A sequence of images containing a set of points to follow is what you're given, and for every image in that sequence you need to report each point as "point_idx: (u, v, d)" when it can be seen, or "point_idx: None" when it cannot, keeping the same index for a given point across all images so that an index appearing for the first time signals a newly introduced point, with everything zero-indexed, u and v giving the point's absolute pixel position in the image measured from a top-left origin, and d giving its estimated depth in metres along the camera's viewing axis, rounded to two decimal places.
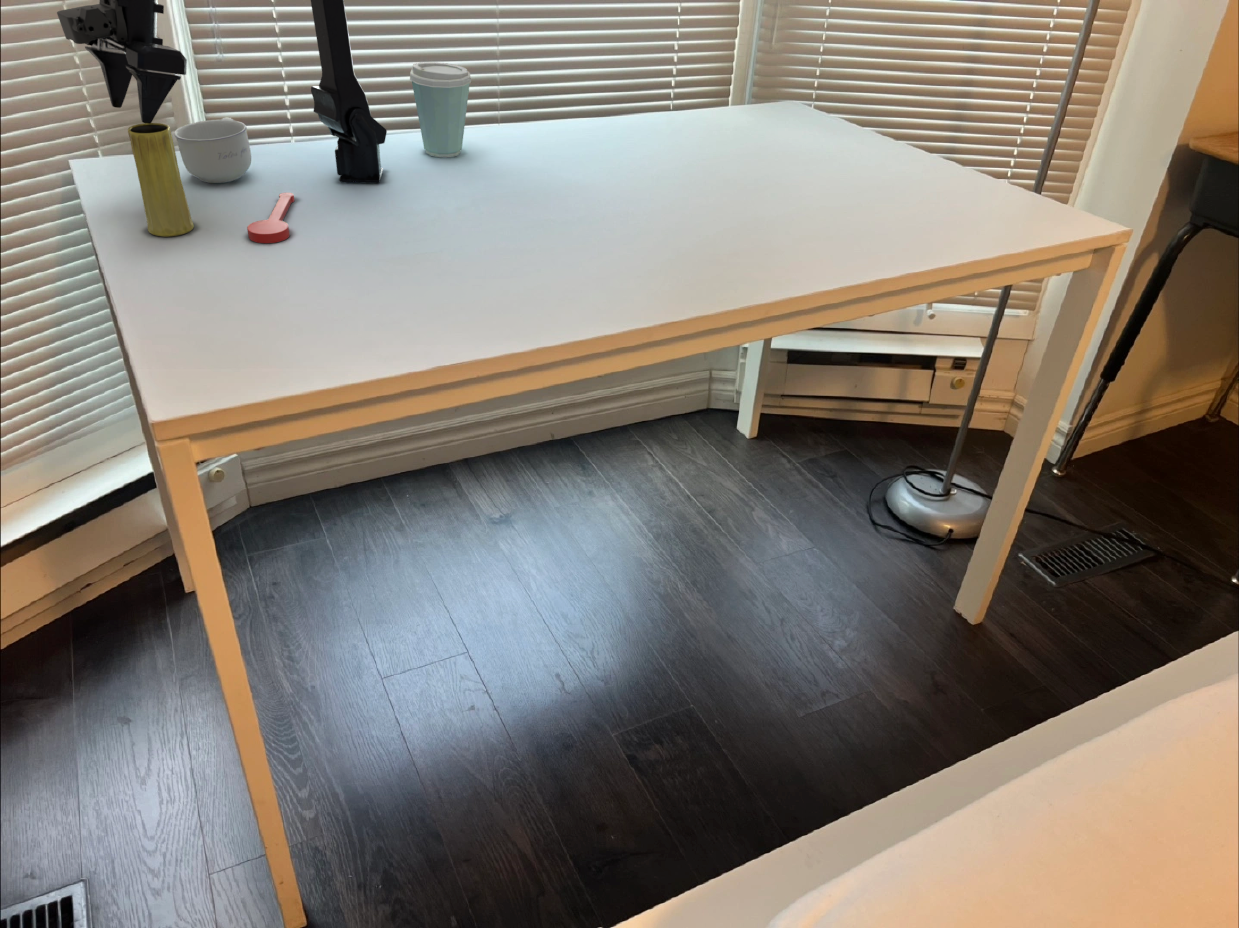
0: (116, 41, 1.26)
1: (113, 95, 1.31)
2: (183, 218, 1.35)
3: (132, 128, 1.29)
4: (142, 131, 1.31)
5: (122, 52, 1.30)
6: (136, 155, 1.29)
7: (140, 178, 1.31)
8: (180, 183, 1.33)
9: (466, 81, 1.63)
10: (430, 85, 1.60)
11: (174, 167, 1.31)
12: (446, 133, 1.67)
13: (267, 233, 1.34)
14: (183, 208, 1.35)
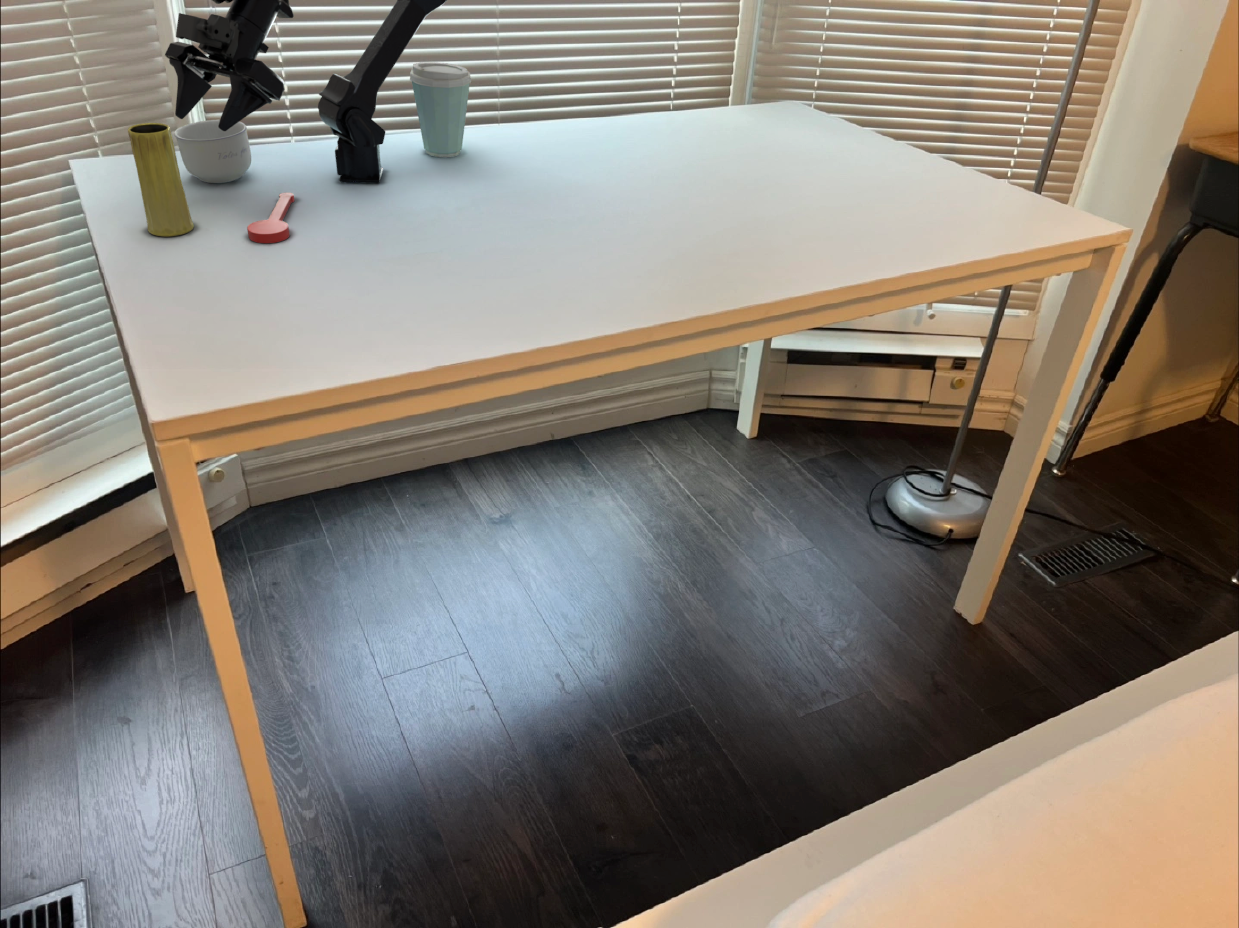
0: None
1: (181, 106, 1.37)
2: (183, 218, 1.35)
3: (132, 128, 1.29)
4: (142, 131, 1.31)
5: (201, 76, 1.39)
6: (136, 155, 1.29)
7: (140, 178, 1.31)
8: (180, 183, 1.33)
9: (466, 81, 1.63)
10: (430, 85, 1.60)
11: (174, 167, 1.31)
12: (446, 133, 1.67)
13: (267, 233, 1.34)
14: (183, 208, 1.35)
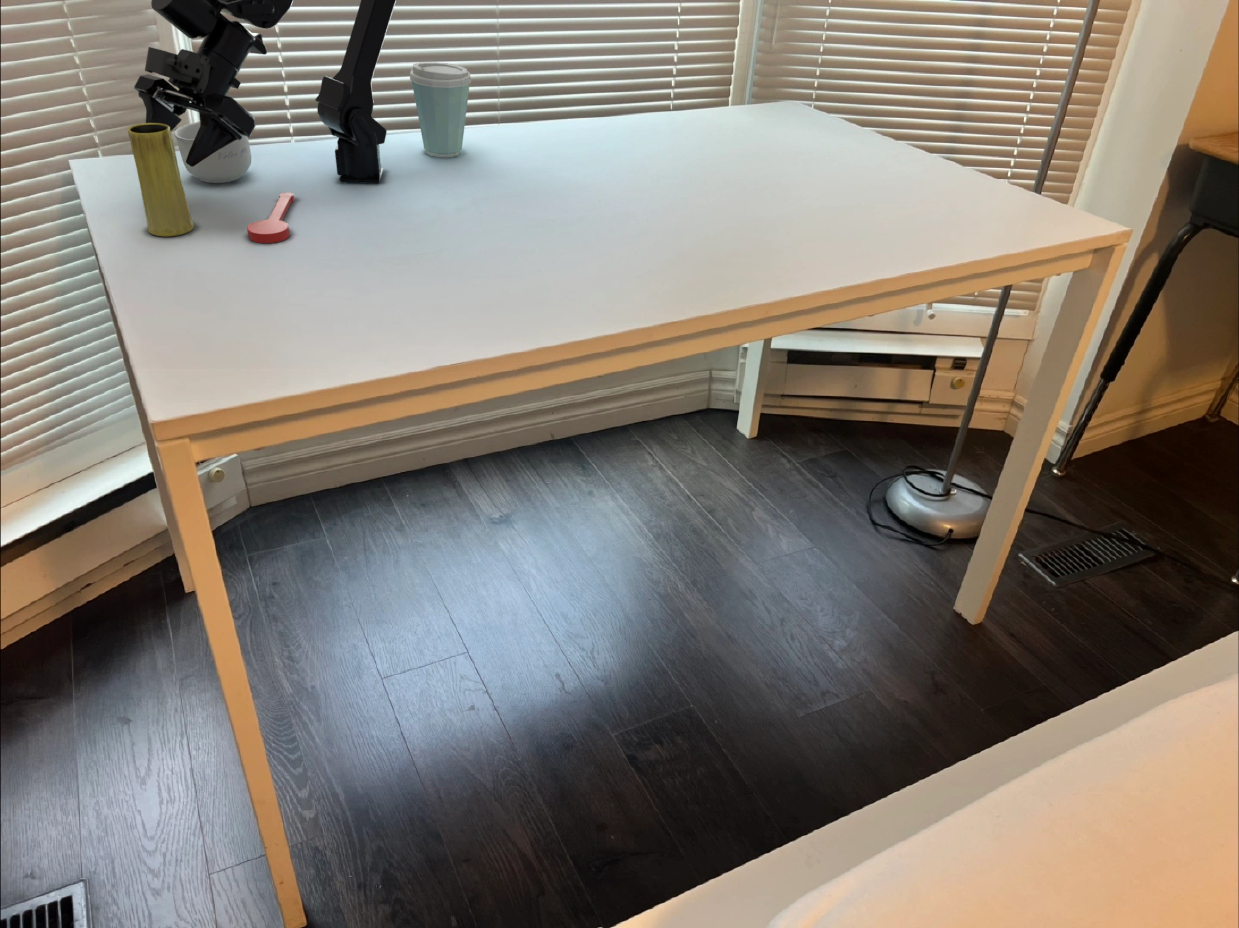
0: None
1: None
2: (183, 218, 1.35)
3: (132, 128, 1.29)
4: (142, 131, 1.31)
5: (170, 110, 1.36)
6: (136, 155, 1.29)
7: (140, 178, 1.31)
8: (180, 183, 1.33)
9: (466, 81, 1.63)
10: (430, 85, 1.60)
11: (174, 167, 1.31)
12: (446, 133, 1.67)
13: (267, 233, 1.34)
14: (183, 208, 1.35)
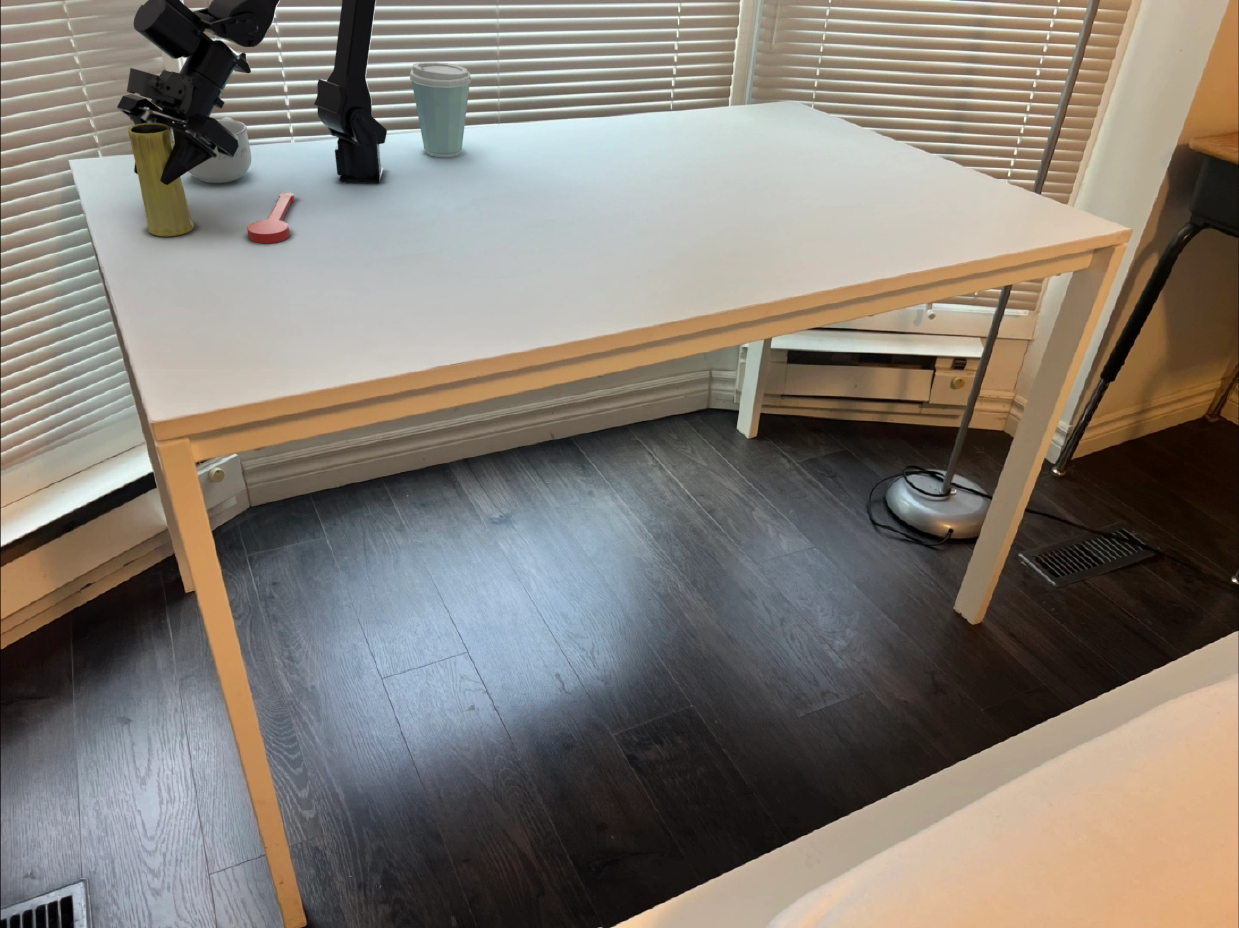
0: None
1: None
2: (183, 218, 1.35)
3: (132, 128, 1.29)
4: (142, 131, 1.31)
5: None
6: (136, 155, 1.29)
7: (140, 178, 1.31)
8: (180, 183, 1.33)
9: (466, 81, 1.63)
10: (430, 85, 1.60)
11: None
12: (446, 133, 1.67)
13: (267, 233, 1.34)
14: (183, 208, 1.35)
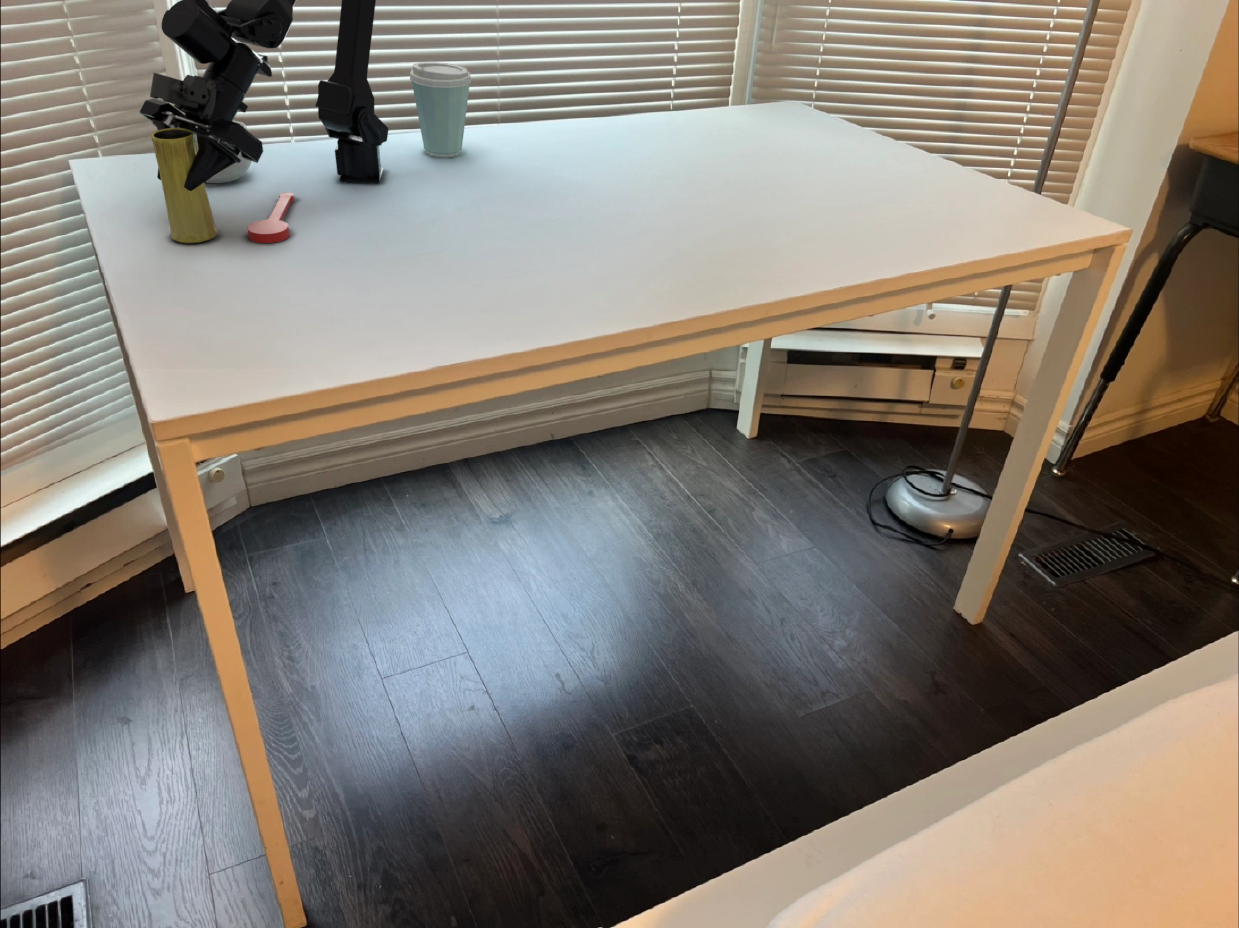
0: None
1: None
2: (207, 224, 1.33)
3: (155, 134, 1.27)
4: (165, 136, 1.29)
5: None
6: (160, 161, 1.27)
7: (164, 184, 1.29)
8: (204, 189, 1.31)
9: (466, 81, 1.63)
10: (430, 85, 1.60)
11: None
12: (446, 133, 1.67)
13: (267, 233, 1.34)
14: (207, 214, 1.33)
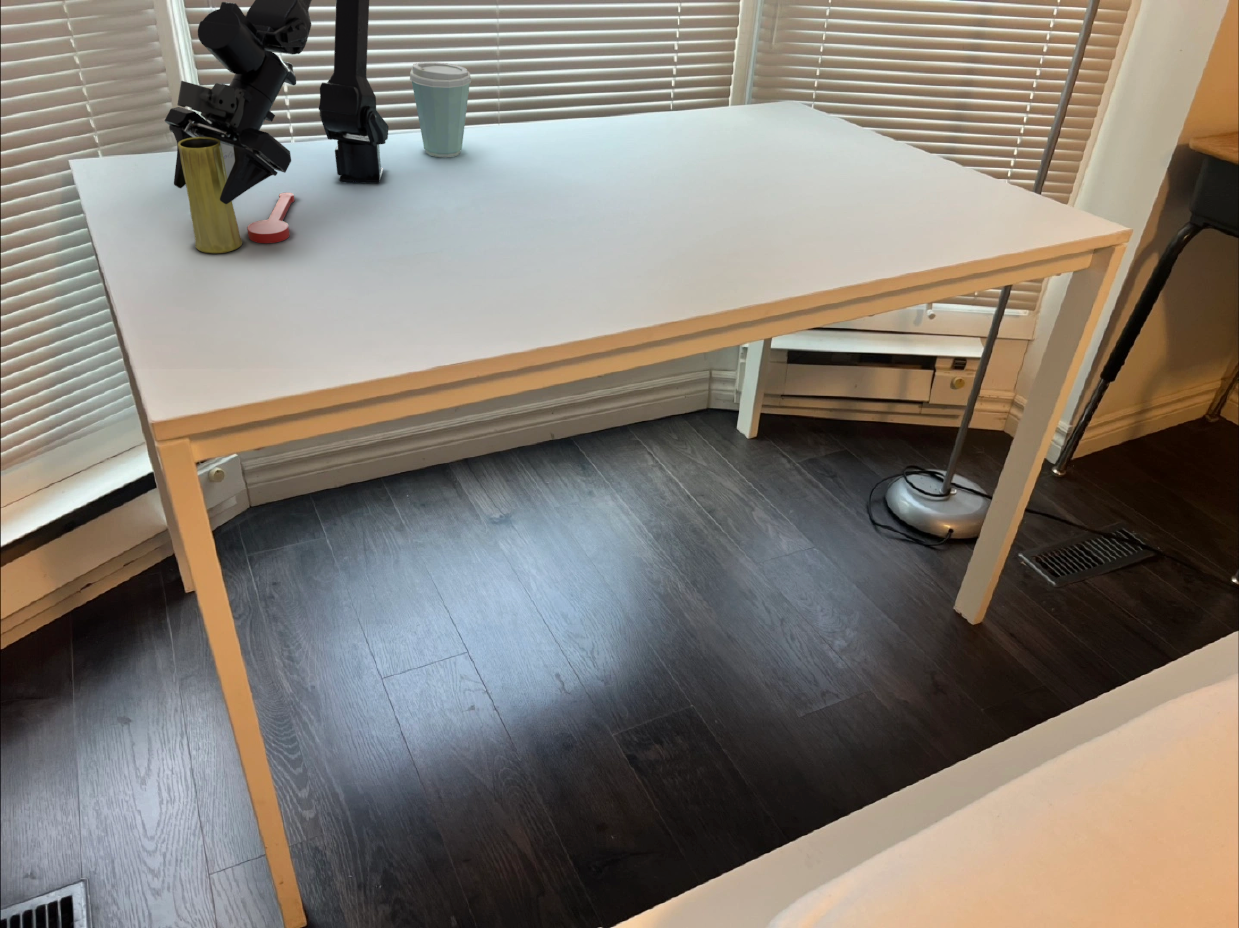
0: None
1: (180, 175, 1.29)
2: (232, 234, 1.31)
3: (182, 142, 1.25)
4: (192, 145, 1.27)
5: None
6: (186, 170, 1.25)
7: (189, 194, 1.27)
8: None
9: (466, 81, 1.63)
10: (430, 85, 1.60)
11: (224, 182, 1.28)
12: (446, 133, 1.67)
13: (267, 233, 1.34)
14: (232, 224, 1.31)
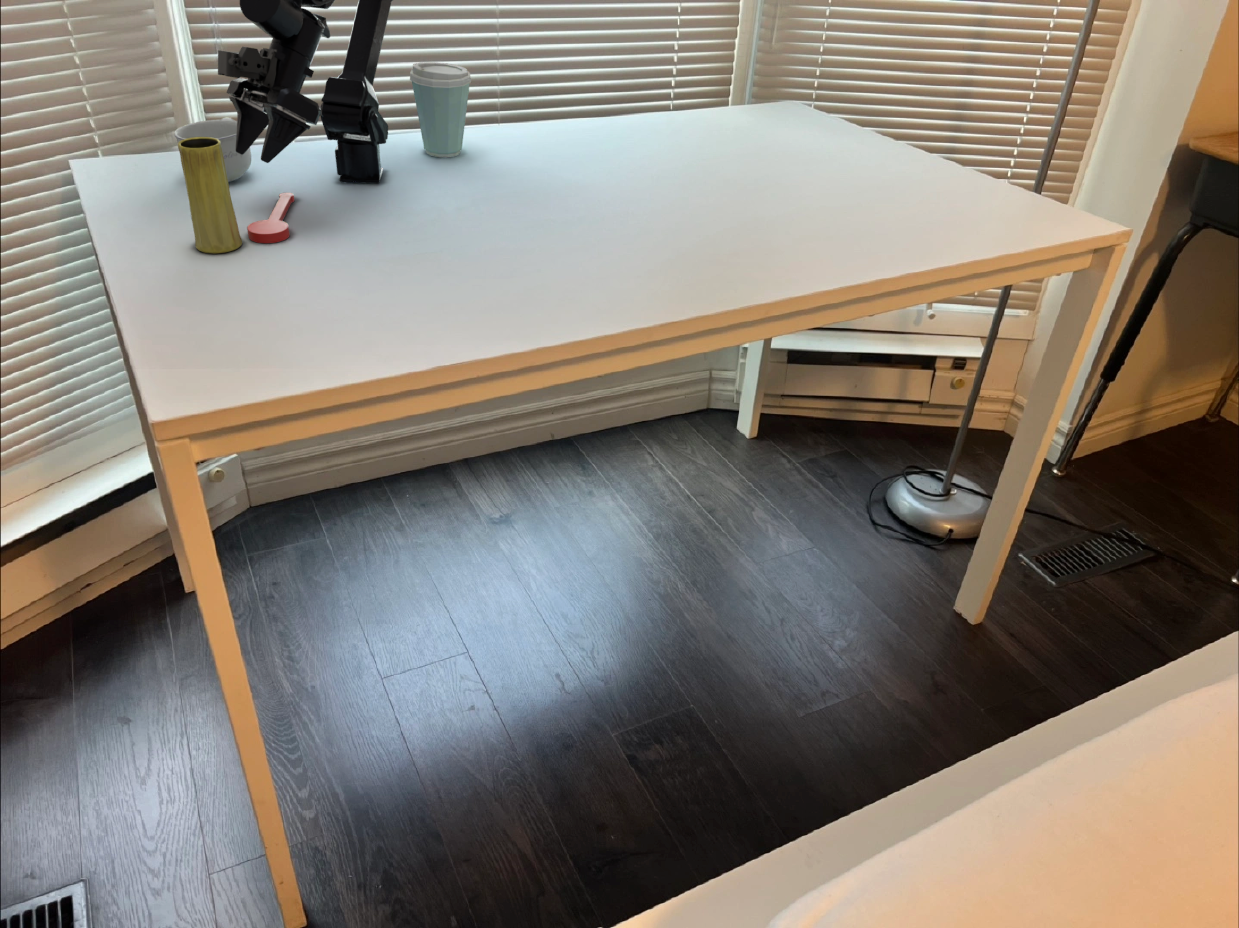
0: None
1: (240, 142, 1.38)
2: (232, 234, 1.31)
3: (182, 142, 1.25)
4: (192, 145, 1.27)
5: (261, 109, 1.39)
6: (186, 170, 1.25)
7: (189, 194, 1.27)
8: (230, 199, 1.29)
9: (466, 81, 1.63)
10: (430, 85, 1.60)
11: (224, 182, 1.28)
12: (446, 133, 1.67)
13: (267, 233, 1.34)
14: (232, 224, 1.31)
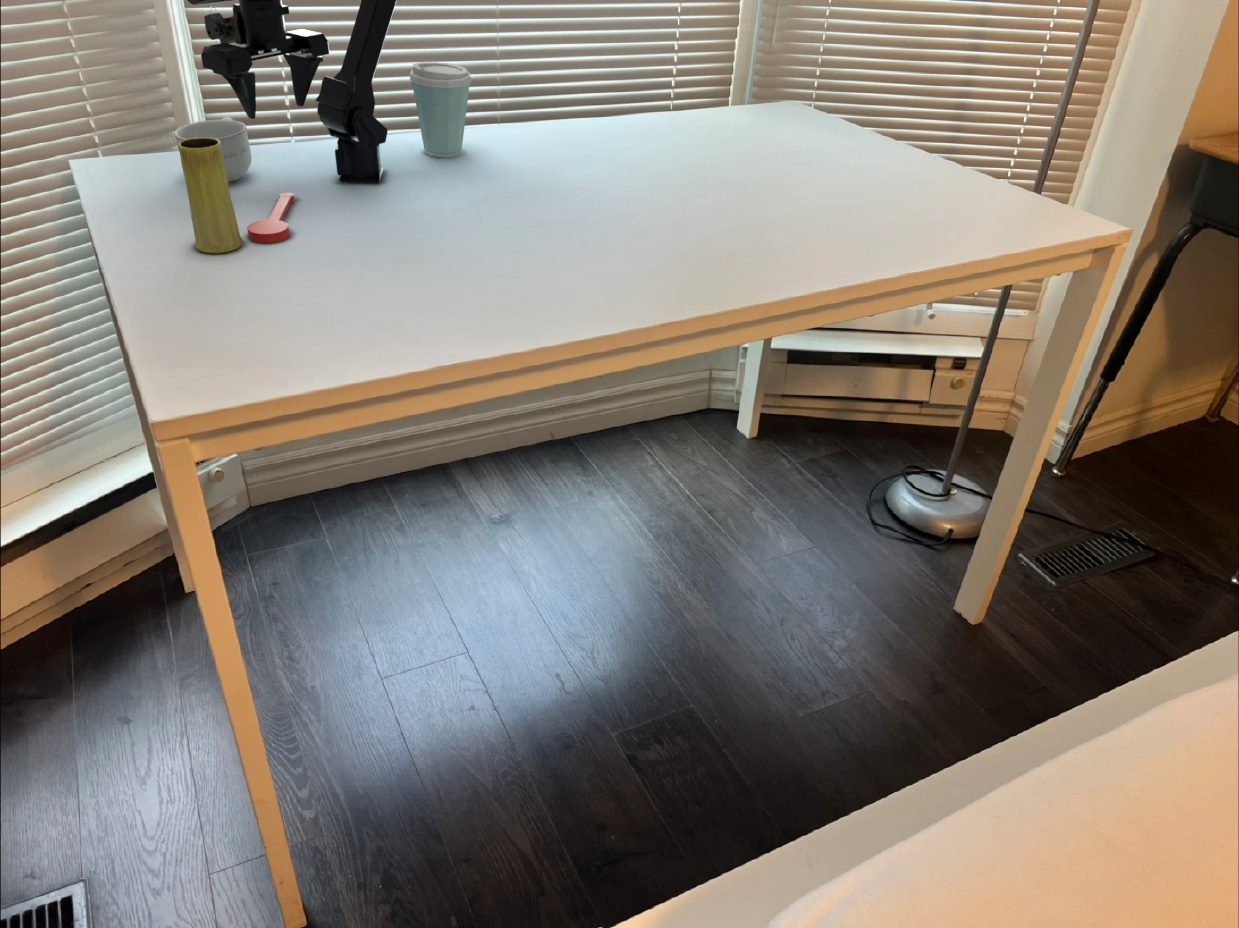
0: None
1: (296, 95, 1.45)
2: (232, 234, 1.31)
3: (182, 142, 1.25)
4: (192, 145, 1.27)
5: (303, 56, 1.42)
6: (186, 170, 1.25)
7: (189, 194, 1.27)
8: (230, 199, 1.29)
9: (466, 81, 1.63)
10: (430, 85, 1.60)
11: (224, 182, 1.28)
12: (446, 133, 1.67)
13: (267, 233, 1.34)
14: (232, 224, 1.31)
